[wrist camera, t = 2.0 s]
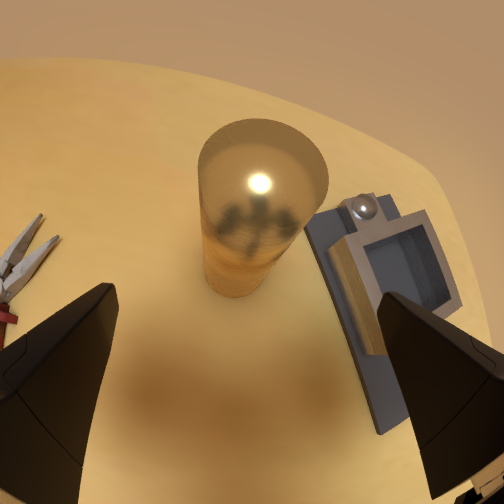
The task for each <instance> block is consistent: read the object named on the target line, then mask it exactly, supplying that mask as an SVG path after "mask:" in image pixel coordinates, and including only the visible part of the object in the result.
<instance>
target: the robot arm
mask: <svg viewBox="0 0 504 504" xmlns="http://www.w3.org/2000/svg"><path fill="white" fill-rule="evenodd" d="M118 311H119V304H118V299H117V294H116V288H115V286H114V284H113V283H100V284H99V285H97V286H96V287H94V288H93V289H91V290H89V291H88V292H86V293H85V294H83V295H82V296H80V297H79V298H77V299H76V300H74V301H73V302H71V303H70V304H68V305H67V306H65V307H64V308H62V309H61V310H59V311H58V312H56V313H55V314H53V315H52V316H50V317H49V318H47V319H46V320H44V321H43V322H41V323H40V324H38V325H37V326H36V327H34V328H33V329H31V330H30V331H28V332H27V334H24V335H23V336H21V337H20V338H19V339H17V340H16V341H14V342H13V343H11V344H10V345H8V346H7V347H6V348H4V349H2V350H1V351H0V504H78V498H79V490H80V483H81V477H82V470H83V468H82V467H83V463H84V458H85V452H86V447H87V442H88V437H89V432H90V428H91V423H92V419H93V415H94V410H95V406H96V402H97V398H98V394H99V390H100V387H101V383H102V379H103V376H104V372H105V369H106V365H107V362H108V358H109V355H110V351H111V346H112V341H113V336H114V331H115V326H116V321H117V316H118ZM377 319H378V322H379V326H380V329H381V333H382V336H383V340H384V344H385V347H386V350H387V353H388V356H389V359H390V362H391V364H392V367H393V370H394V373H395V375H396V378H397V381H398V384H399V387H400V389H401V392H402V395H403V398H404V401H405V404H406V407H407V410H408V414H409V417H410V420H411V423H412V426H413V430H414V433H415V436H416V440H417V443H418V447H419V450H420V455H421V458H422V462H423V466H424V470H425V474H426V478H427V482H428V486H429V491H430V495H431V498H432V500H434V499H436V498H438V497H440V496H442V495H444V494H445V493H447V492H449V491H451V490H453V489H454V488H456V487H458V486H460V485H461V484H463V483H465V482H466V481H468V480H470V479H471V482H472V484H473V486H474V487H473V488H471V489H470V490H468V491H467V492H465V493H463V494H462V495H460V496H458V497H457V498H456V500H455V503H454V504H504V354H502V353H500V352H498V351H496V350H494V349H493V348H491V347H489V346H487V345H486V344H484V343H482V342H481V341H479V340H477V339H476V338H474V337H472V336H471V335H469V334H467V333H466V332H464V331H462V330H461V329H459V328H457V327H456V326H454V325H452V324H451V323H449V322H447V321H446V320H444V319H442V318H441V317H439V316H437V315H436V314H434V313H432V312H430V311H429V310H427V309H425V308H424V307H422V306H420V305H418V304H417V303H415V302H413V301H411V300H410V299H408V298H406V297H404V296H403V295H401V294H399V293H397V292H395V291H387V292H385V293H384V294H383V296H382V299H381V301H380V304H379V306H378V309H377Z"/></svg>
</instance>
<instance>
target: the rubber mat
mask: <svg viewBox="0 0 504 504" xmlns="http://www.w3.org/2000/svg"><path fill="white" fill-rule="evenodd" d="M376 199H377V201H378V203H379V205H380V207H381V209H382V211H383V213H384V215H385V217H386V219H387V221H391V220H394V219H397V218H400V217H401V216H400V213H399V211H398V209H397V207H396V205H395V203H394V201H393V199H392V197H391V195H390V194H388V195H384V196H381V197H377V198H376ZM304 230H305V233H306V235H307V237H308V240H309V242H310V245H311V247H312V249H313V252H314V254H315V257H316V259H317V262H318V264H319V267H320V269H321V272H322V274H323V277H324V279H325V282H326V285H327V287H328V290H329V292H330V295H331V298H332V300H333V303H334V306H335V308H336V311H337V314H338V316H339V319H340V322H341V325H342V327H343V330H344V333H345V336H346V338H347V341H348V344H349V347H350V350H351V353H352V356H353V359H354V362H355V365H356V367H357V370H358V373H359V376H360V380H361V383H362V386H363V389H364V392H365V395H366V398H367V401H368V405H369V408H370V411H371V414H372V418H373V421H374V424H375V428H376V431H377V434H379V435H383V434H384V433H386V432H387V431H389V430H391V429H392V428H394V427H395V426H397V425H398V424H400V423H401V422H403V421H404V420H405V419H407V418H408V417H409V414H408V410H407V407H406V404H405V401H404V398H403V395H402V392H401V389H400V387H399V384H398V381H397V378H396V375H395V373H394V370H393V367H392V364H391V362H390V359H389V356H388V355H362V352H361V349H360V346H359V343H358V340H357V337H356V335H355V332H354V329H353V326H352V323H351V321H350V318H349V315H348V312H347V310H346V307H345V304H344V302H343V299H342V296H341V294H340V291H339V289H338V286H337V283H336V281H335V278H334V276H333V273H332V271H331V268H330V266H329V263H328V261H327V258H326V256H325V253H324V252H326V251H327V250H328V249H329V248H330V247H331V246H333V245H334V244H335V243H336V242H337V241H339V240H340V239H341V238H342V237H343V236H345V235H348V234H347V232H346V229H345V227H344V225H343V223H342V220H341V218H340V216H339V214H338V212H337V209H332V210H328V211H325V212H321V213H317V214H314V215H313V217H312V218H311V219H310V220H309V222H308V223H307V224H306V225H305V227H304ZM365 253H366V255H367V258H368V260H369V263H370V265H371V267H372V270H373V272H374V275H375V278H376V280H377V283H378V285H379V288H380V291H381V293H382V296H383V294H384V293H385V292H387V291H395V292H397V293H399V294H401V295H403V296H404V297H406V298H408V299H410V300H411V301H413V302H415V303H417V304H418V305H420V306H422V307H423V303H422V300H421V297H420V294H419V291H418V289H417V286H416V283H415V281H414V278H413V275H412V273H411V270H410V268H409V265H408V263H407V260H406V258H405V255H404V253H403V251H402V248H401V246H400V243H399V241H398V240H395V241H393V242H390V243H388V244H385V245H383V246H380V247H377V248H375V249H372V250H369V251H367V252H365Z"/></svg>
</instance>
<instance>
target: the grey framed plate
mask: <svg viewBox="0 0 504 504" xmlns="http://www.w3.org/2000/svg"><path fill="white" fill-rule="evenodd" d="M336 209H337V212H338V214H339V216H340V218H341V220H342V223H343V225H344V227H345V229H346V232H347V234H348V235H345V236H343V237H342V238H341V239H340V240H339V241H337V242H336V243H335V244H334V245H333V246H331V247H330V248H329V249H328V250H327V251H326V252H324V253H325V256H326V258H327V261H328V263H329V266H330V268H331V271H332V273H333V276H334V278H335V281H336V283H337V286H338V289H339V291H340V294H341V296H342V299H343V302H344V304H345V307H346V310H347V312H348V315H349V318H350V321H351V323H352V326H353V329H354V332H355V335H356V337H357V340H358V343H359V346H360V349H361V352H362V355H388V353H387V350H386V347H385V344H384V340H383V336H382V333H381V329H380V326H379V322H378V319H377V309H378V306H379V304H380V301H381V299H382V293H381V291H380V288H379V285H378V283H377V280H376V278H375V275H374V272H373V270H372V267H371V265H370V263H369V260H368V258H367V255H366V253H365V252H367V251H369V250H372V249H375V248H377V247H380V246H383V245H385V244H388V243H390V242H393V241H395V240H398V241H399V243H400V246H401V248H402V251H403V253H404V255H405V258H406V260H407V263H408V265H409V268H410V270H411V273H412V275H413V278H414V281H415V283H416V286H417V289H418V291H419V294H420V297H421V300H422V303H423V307H424V308H425V309H427V310H429V311H430V312H432V313H434V314H436V315H437V316H439V317H441V318H442V319H445V318H447V317H448V316H449V315H451V314H452V313H454V312H455V311H456V310H458V309H459V308H460V307H462V306H463V305H462V302H461V299H460V296H459V293H458V290H457V287H456V284H455V281H454V278H453V275H452V273H451V270H450V267H449V265H448V262H447V259H446V257H445V254H444V252H443V249H442V247H441V245H440V242H439V240H438V237H437V235H436V233H435V231H434V228H433V226H432V224H431V222H430V220H429V217H428V215H427V213H426V211H425V209H424V210H421V211H418V212H415V213H412V214H409V215H406V216H403V217H400V218H397V219H394V220H391V221H387V219H386V217H385V215H384V213H383V211H382V209H381V207H380V205H379V203H378V201H377V199H376V197H375V195H374V193H369V194H360V195H358V196H357V197H353V198H349V199H345V200H343V201H342V202H341V203H340V204H339V206H338V207H337V208H336Z"/></svg>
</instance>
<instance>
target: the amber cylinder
mask: <svg viewBox="0 0 504 504" xmlns="http://www.w3.org/2000/svg"><path fill="white" fill-rule="evenodd" d="M198 183H199V201H200V217H201V231H202V244H203V257H204V268H205V276H206V279H207V281H208V283H209V285H210V286H211V287H212V288H213V289H214V290H215V291H216V292H217V293H219V294H221V295H223V296H226V297H232V298H236V297H242V296H245V295H247V294H249V293H250V292H252V291H253V290H254V289H255V288H256V287H257V286H258V284H259V283H260V282H261V281H262V279H263V278H264V277H265V276H266V275H267V273H268V272H269V271H270V270H271V268H272V267H273V266H274V265H275V263H276V262H277V261H278V260H279V258H280V257H281V256H282V255H283V253H284V252H285V251H286V250H287V248H288V247H289V246H290V245H291V243H292V242H293V241H294V239H295V238H296V237H297V236H298V234H299V233H300V232H301V231H302V229H303V228H304V227H305V225H306V224H307V223H308V222H309V220H310V219H311V218H312V217H313V215H314V214H315V213H316V211H317V210H318V209H319V207H320V206H321V205H322V203H323V201H324V199H325V197H326V194H327V191H328V185H329V176H328V169H327V166H326V163H325V161H324V158H323V156H322V154H321V153H320V151H319V150H318V148H317V147H316V146H315V145H314V143H313V142H312V141H311V140H310V139H309V138H307V137H306V136H305V135H304V134H302V133H301V132H299V131H298V130H296V129H294V128H292V127H291V126H288V125H286V124H283V123H281V122H277V121H273V120H268V119H245V120H240V121H236V122H233V123H230V124H228V125H226V126H224V127H222V128H221V129H219V130H217V131H216V132H215V133H214V134H213V135H212V136H211V137H210V138H209V139H208V140H207V141H206V143H205V144H204V146H203V148H202V150H201V153H200V156H199V160H198Z"/></svg>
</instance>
